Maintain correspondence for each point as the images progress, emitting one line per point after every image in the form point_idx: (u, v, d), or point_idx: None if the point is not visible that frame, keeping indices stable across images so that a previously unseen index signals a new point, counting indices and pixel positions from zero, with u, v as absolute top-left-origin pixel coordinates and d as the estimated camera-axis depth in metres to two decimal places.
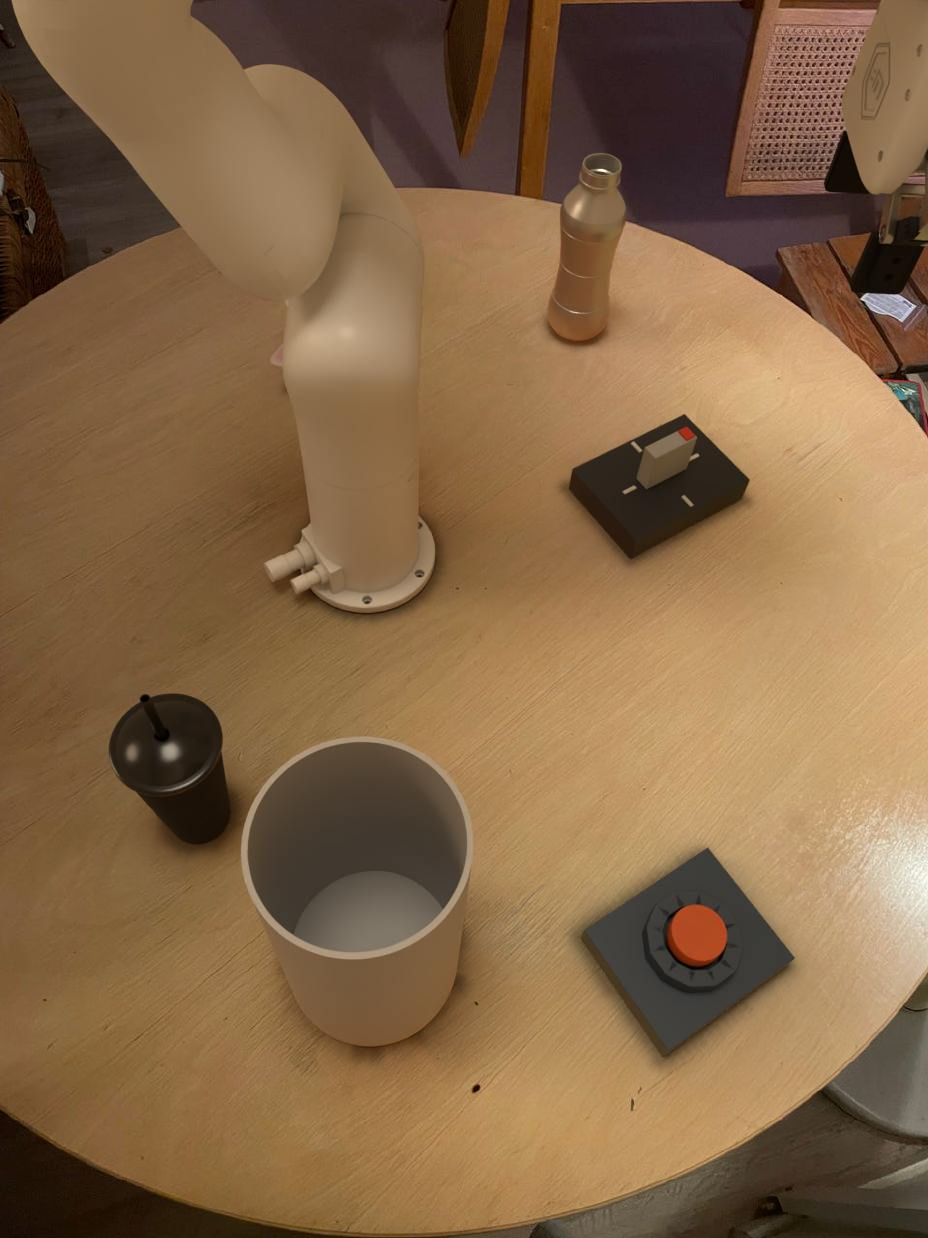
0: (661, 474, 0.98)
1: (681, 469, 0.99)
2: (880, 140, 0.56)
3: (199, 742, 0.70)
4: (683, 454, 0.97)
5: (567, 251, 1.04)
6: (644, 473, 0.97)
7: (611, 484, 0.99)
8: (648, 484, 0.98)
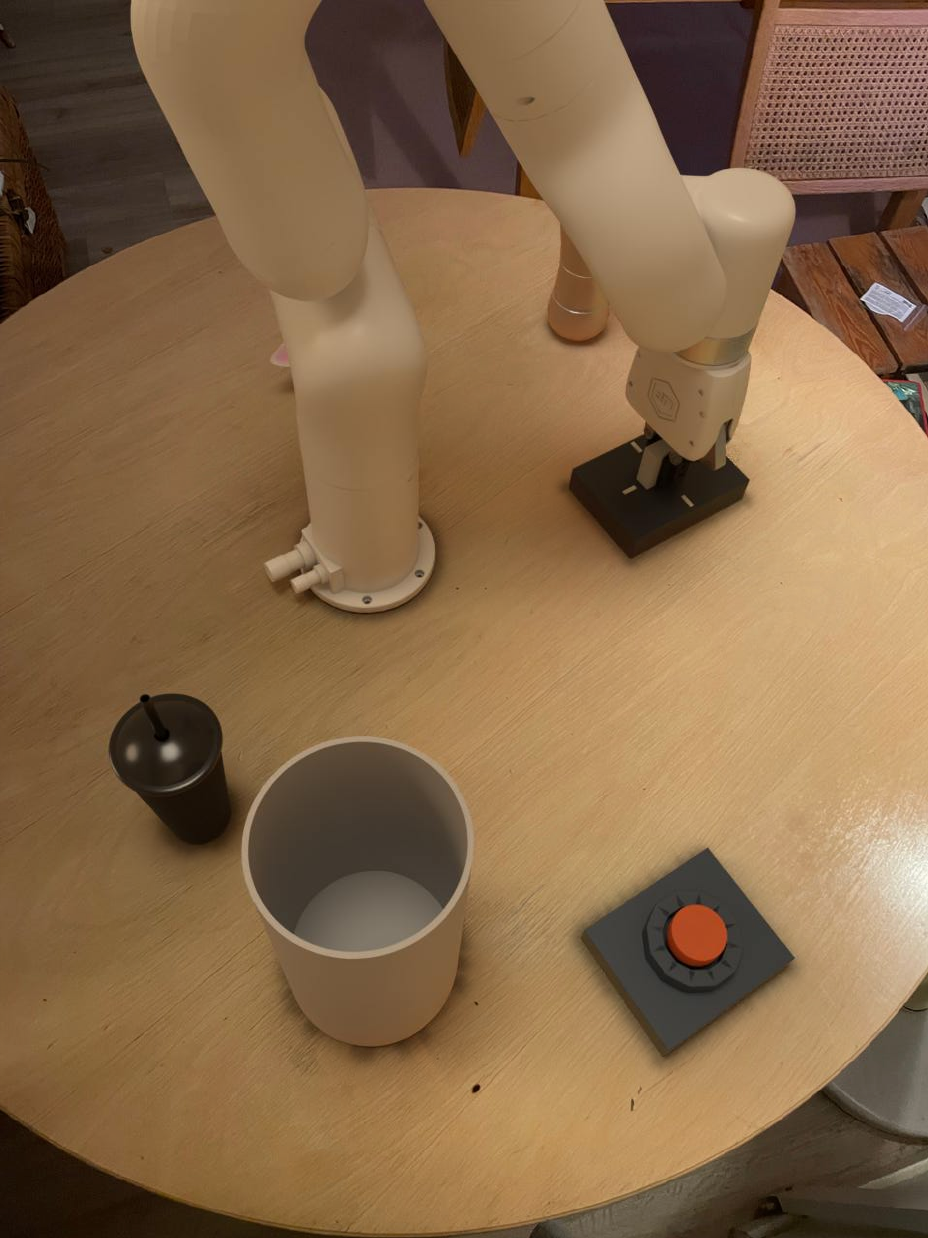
0: None
1: None
2: (687, 434, 0.88)
3: (199, 742, 0.70)
4: None
5: (567, 251, 1.04)
6: (644, 473, 0.97)
7: (611, 484, 0.99)
8: (649, 484, 0.98)
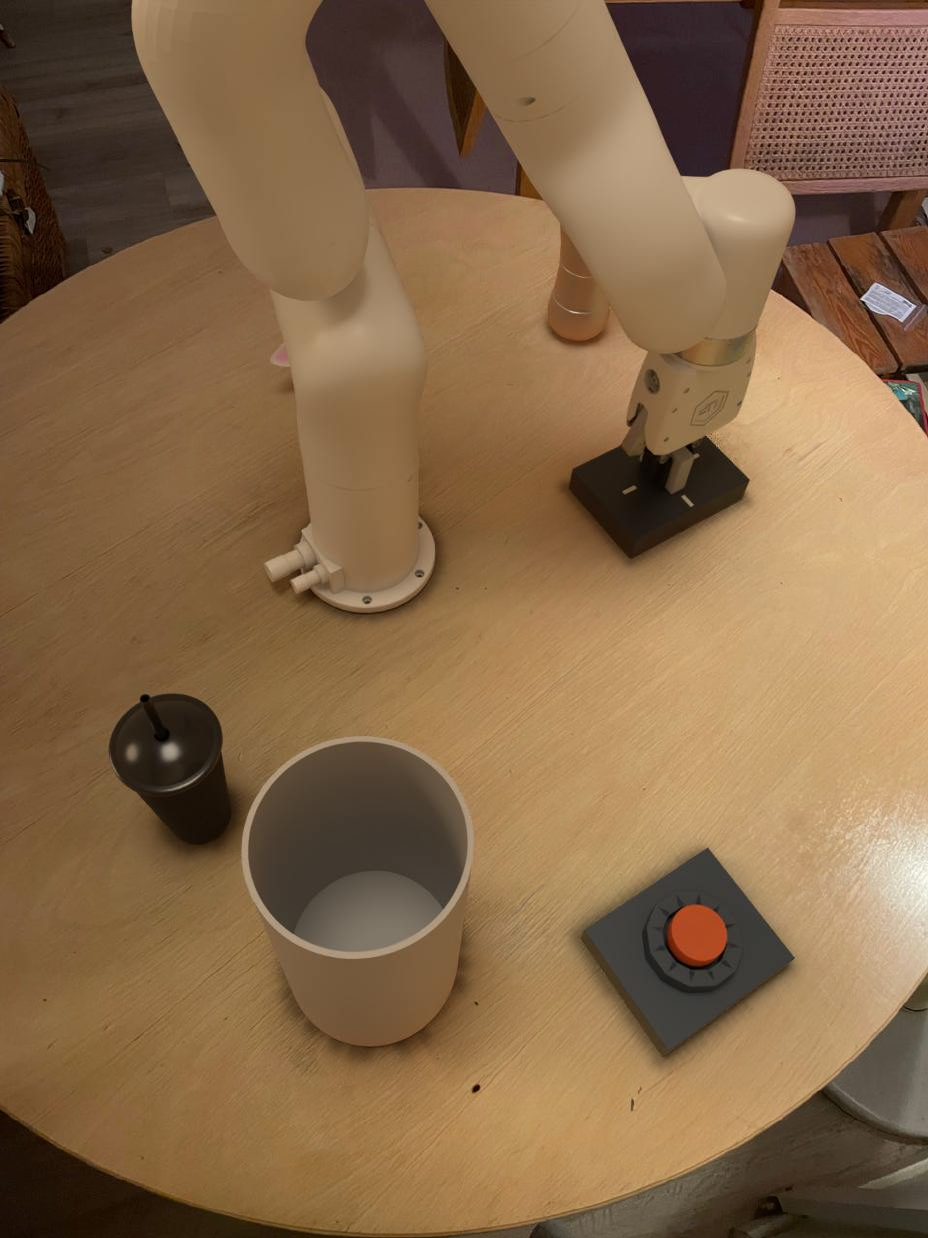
0: None
1: None
2: (735, 403, 0.91)
3: (199, 742, 0.70)
4: None
5: (567, 251, 1.04)
6: (681, 480, 0.97)
7: (611, 484, 0.99)
8: (685, 482, 0.98)
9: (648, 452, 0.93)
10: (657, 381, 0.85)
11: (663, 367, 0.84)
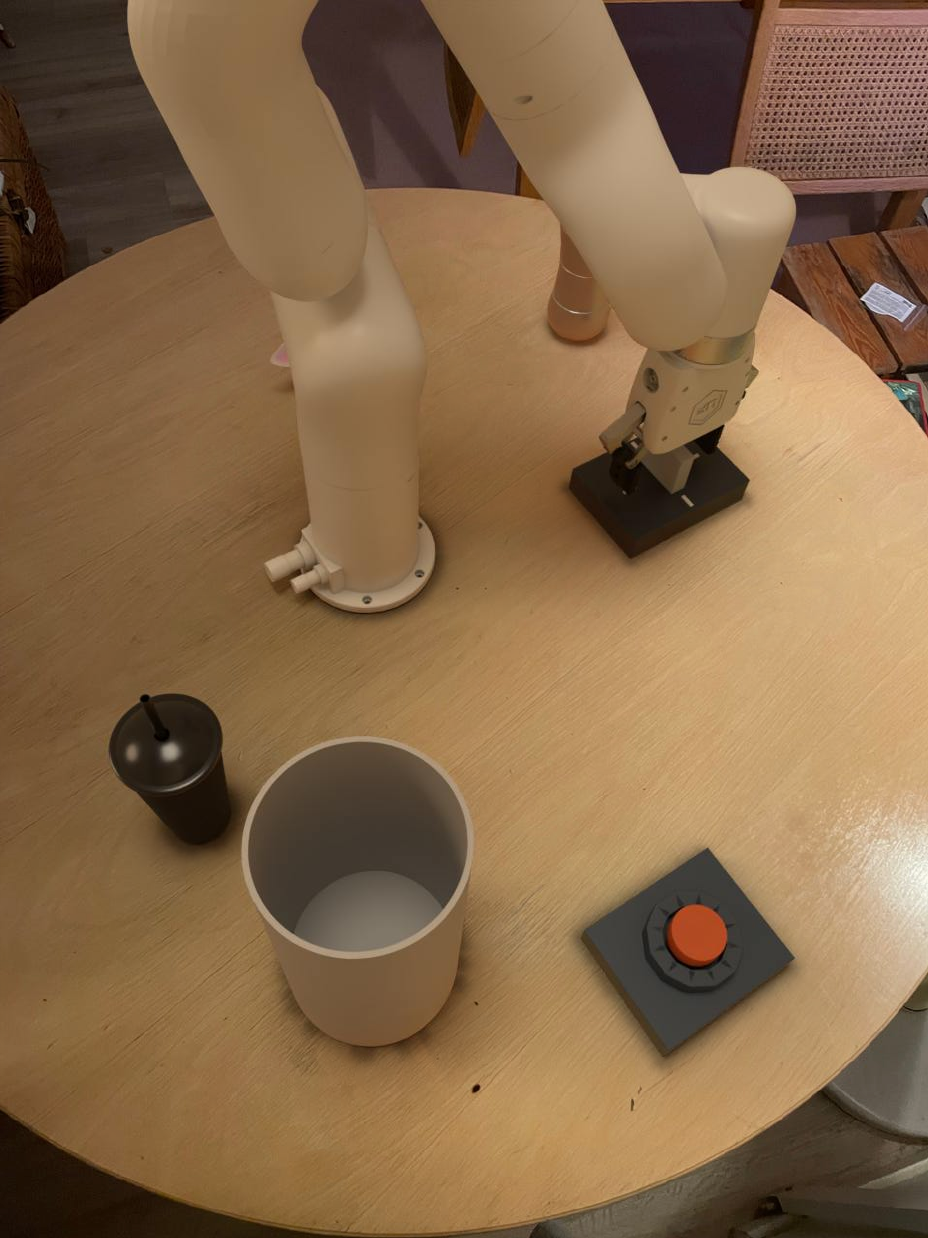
0: None
1: None
2: (733, 402, 0.91)
3: (199, 742, 0.70)
4: None
5: (567, 251, 1.04)
6: (681, 480, 0.97)
7: (611, 484, 0.99)
8: (685, 482, 0.98)
9: (616, 457, 0.90)
10: (656, 380, 0.85)
11: (662, 365, 0.84)
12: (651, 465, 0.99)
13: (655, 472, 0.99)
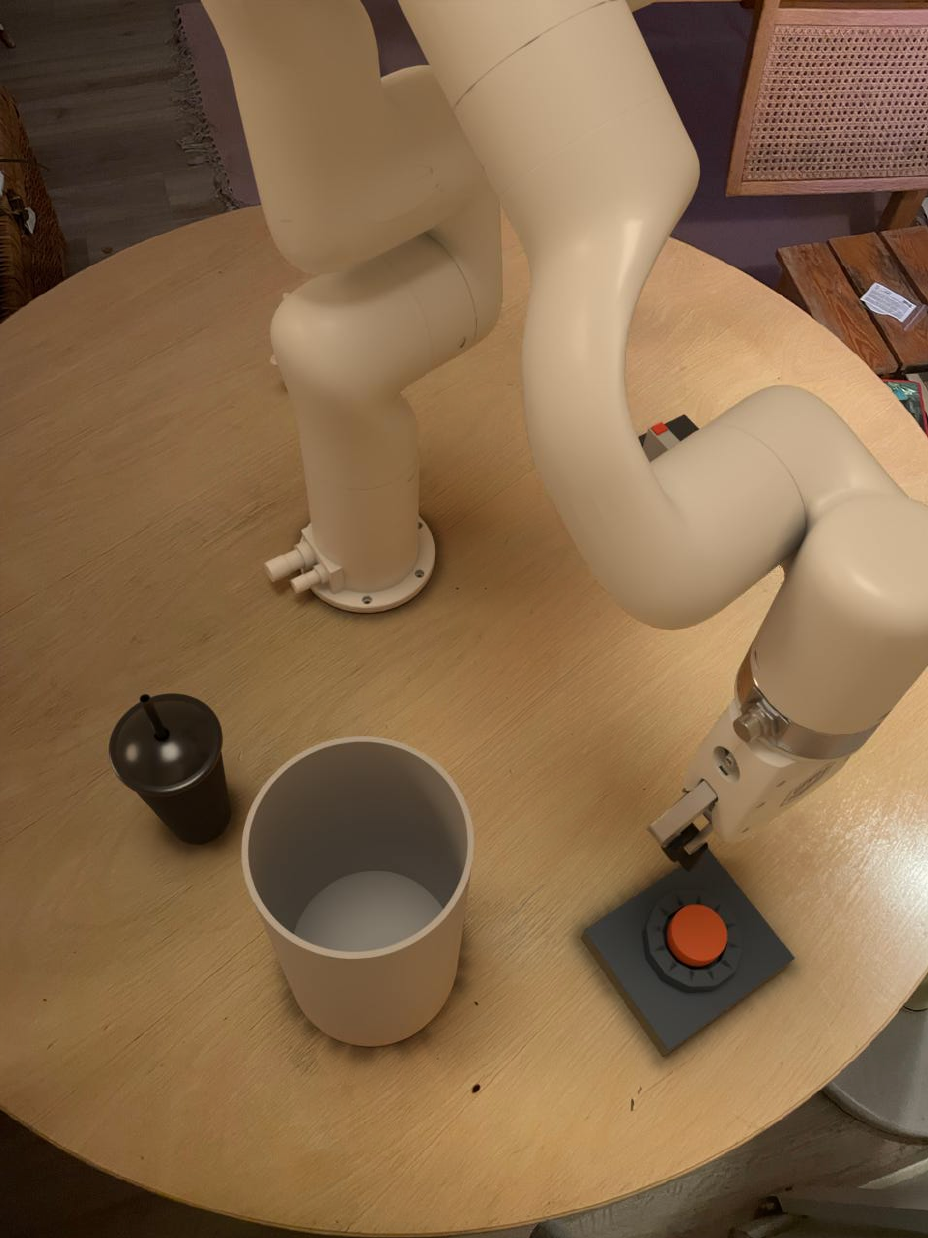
0: None
1: None
2: (842, 760, 0.61)
3: (199, 741, 0.70)
4: None
5: None
6: None
7: None
8: None
9: (672, 850, 0.61)
10: (734, 764, 0.56)
11: (746, 754, 0.54)
12: None
13: None
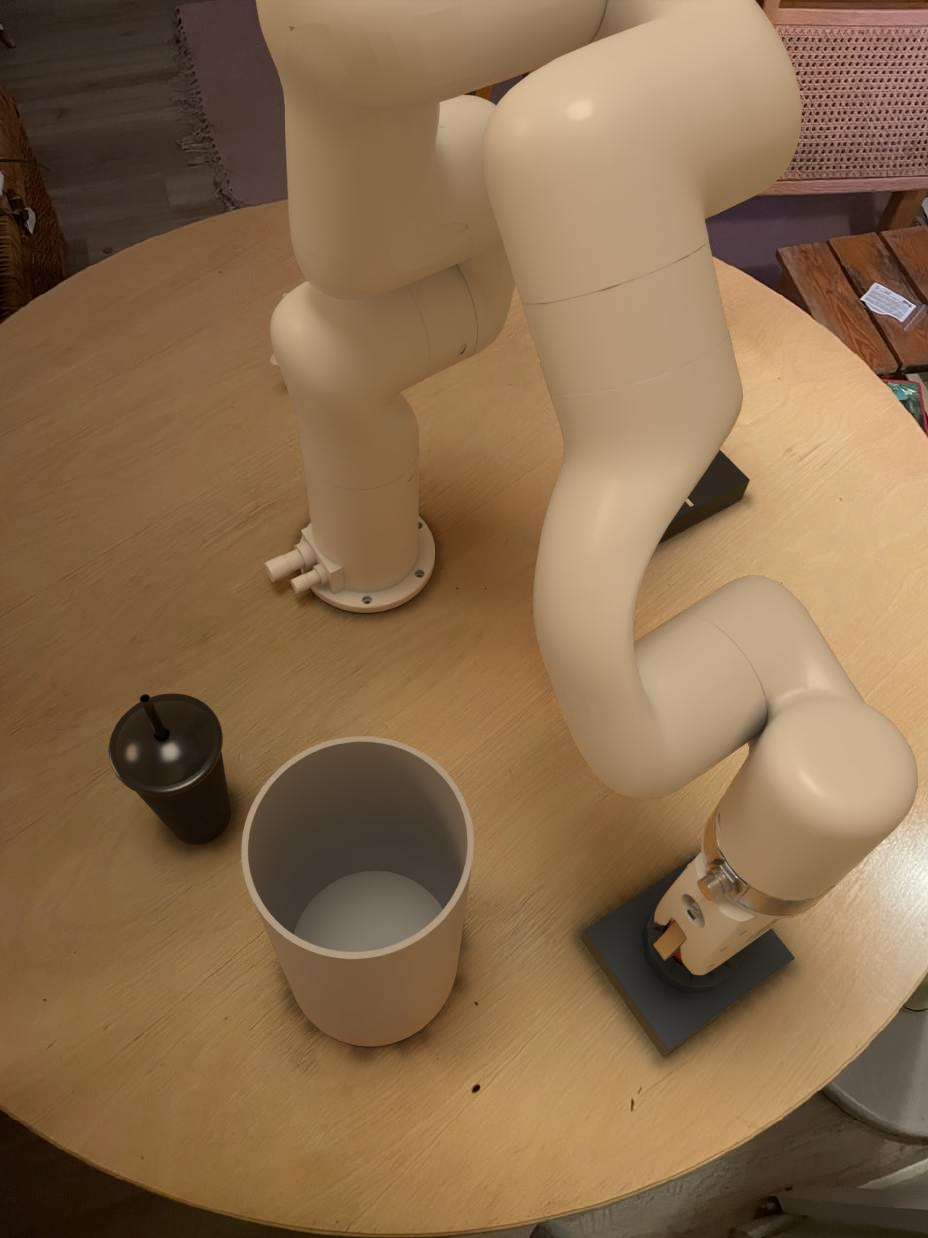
0: None
1: None
2: None
3: (199, 742, 0.70)
4: None
5: None
6: None
7: None
8: None
9: None
10: (700, 912, 0.60)
11: (710, 907, 0.59)
12: None
13: None
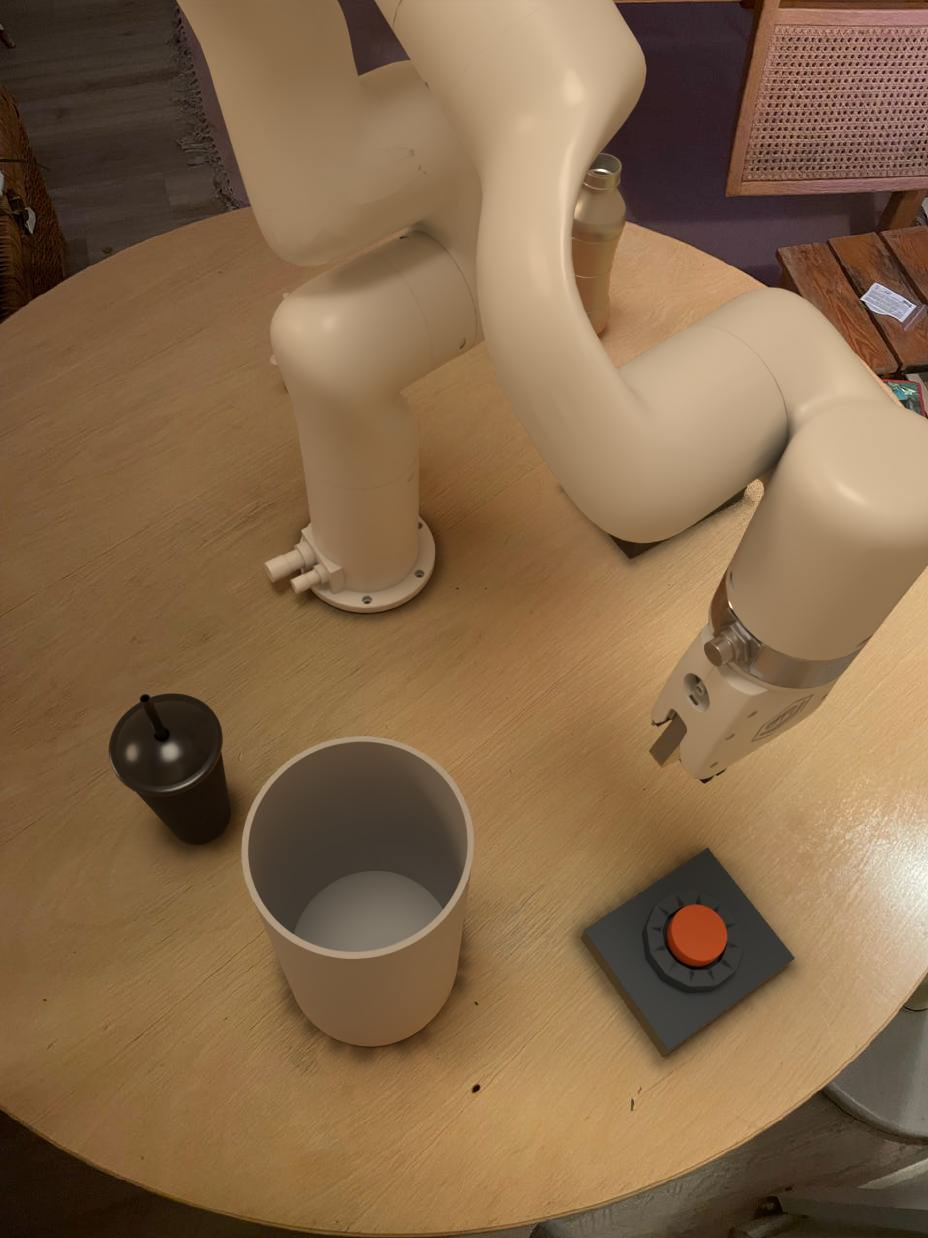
0: None
1: None
2: (819, 698, 0.59)
3: (199, 742, 0.70)
4: None
5: None
6: None
7: None
8: None
9: None
10: (705, 693, 0.53)
11: (717, 681, 0.52)
12: None
13: None
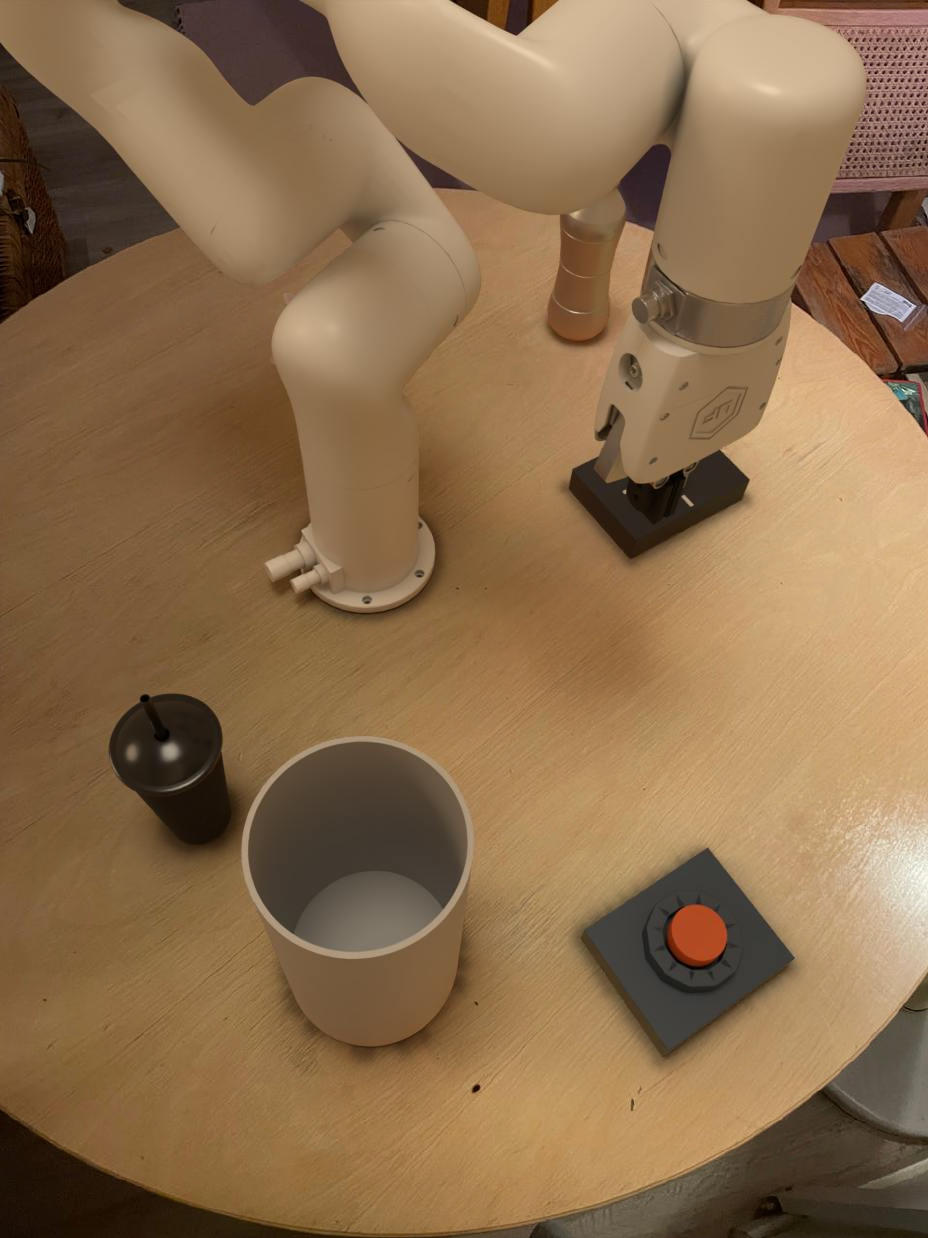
0: None
1: None
2: (756, 405, 0.61)
3: (199, 741, 0.70)
4: None
5: (567, 251, 1.04)
6: None
7: (611, 484, 0.99)
8: (685, 482, 0.98)
9: None
10: (638, 372, 0.55)
11: (647, 350, 0.54)
12: None
13: None
